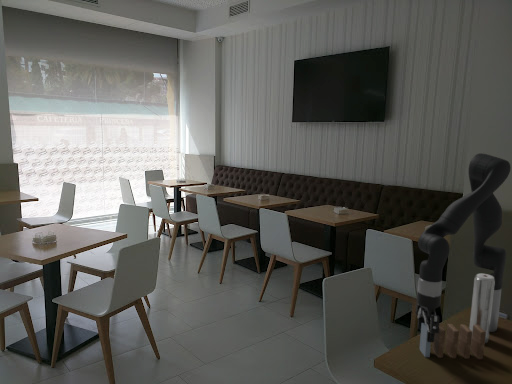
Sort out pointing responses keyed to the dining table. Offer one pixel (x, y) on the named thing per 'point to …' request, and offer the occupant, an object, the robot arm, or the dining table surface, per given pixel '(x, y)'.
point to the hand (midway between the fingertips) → (425, 335)
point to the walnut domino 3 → (465, 341)
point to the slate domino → (424, 341)
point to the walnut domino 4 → (478, 341)
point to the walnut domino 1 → (439, 342)
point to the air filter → (482, 302)
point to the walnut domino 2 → (451, 340)
